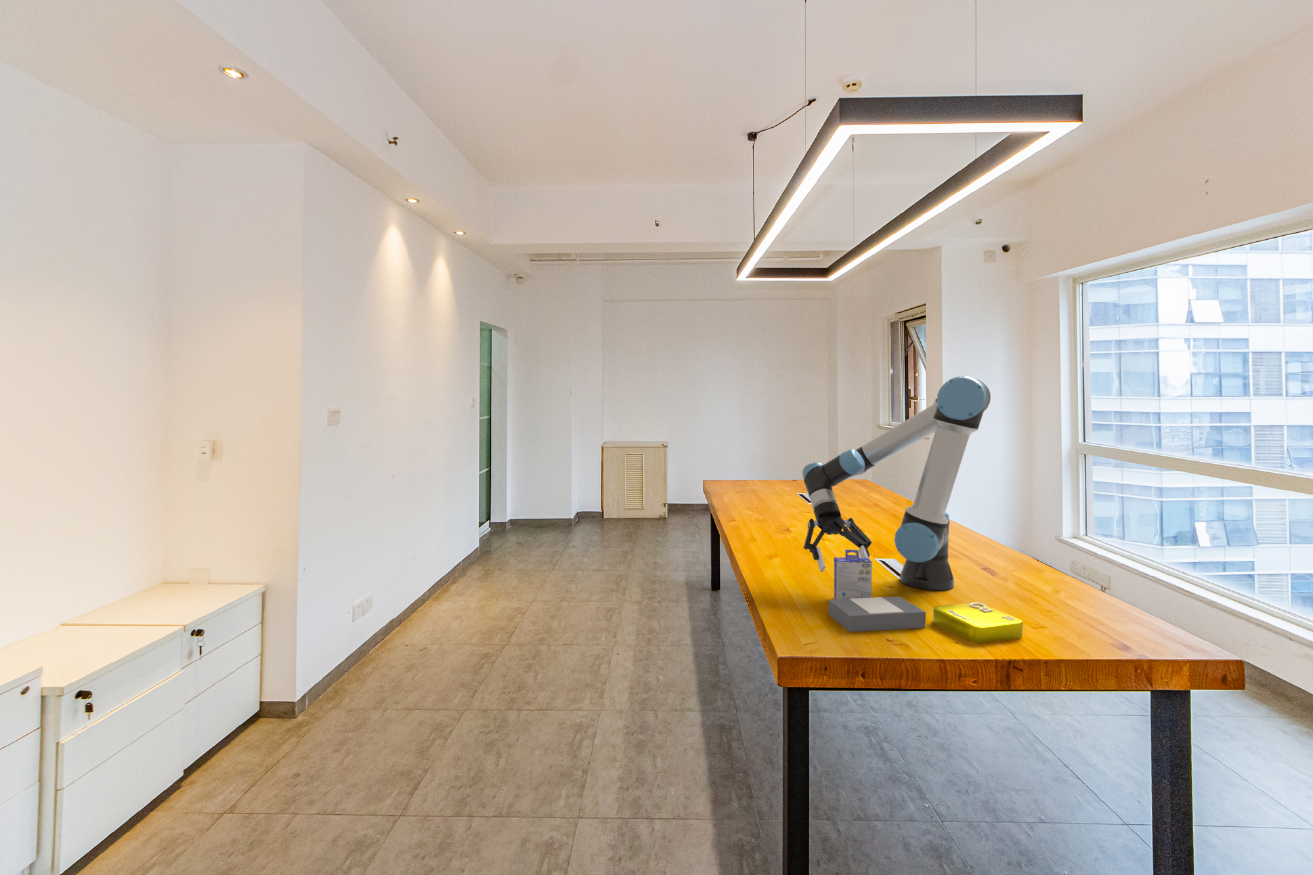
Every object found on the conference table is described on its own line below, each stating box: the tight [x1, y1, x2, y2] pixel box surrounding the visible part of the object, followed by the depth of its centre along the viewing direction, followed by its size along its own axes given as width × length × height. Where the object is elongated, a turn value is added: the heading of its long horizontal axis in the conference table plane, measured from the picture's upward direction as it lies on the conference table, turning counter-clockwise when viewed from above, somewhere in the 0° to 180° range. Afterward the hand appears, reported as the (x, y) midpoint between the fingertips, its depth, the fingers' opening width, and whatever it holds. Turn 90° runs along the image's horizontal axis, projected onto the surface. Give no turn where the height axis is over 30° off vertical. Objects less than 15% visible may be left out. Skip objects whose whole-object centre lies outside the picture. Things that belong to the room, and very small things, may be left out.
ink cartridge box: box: [833, 549, 873, 600], centre depth 165 cm, size 10×6×14 cm, turn 82°
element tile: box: [932, 601, 1024, 644], centre depth 145 cm, size 15×15×5 cm
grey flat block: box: [828, 596, 927, 633], centre depth 150 cm, size 20×12×4 cm, turn 98°
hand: (845, 568), depth 167 cm, fingers open, 13 cm apart
